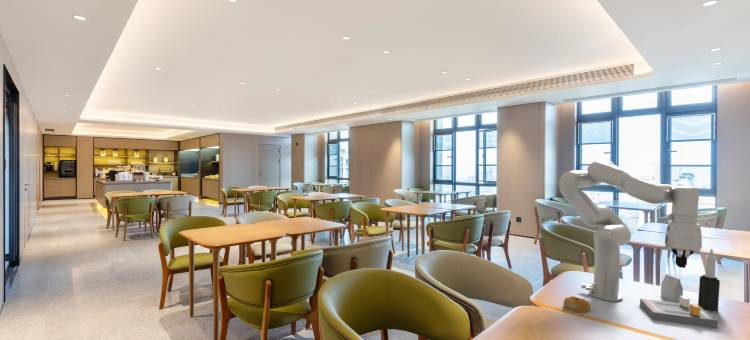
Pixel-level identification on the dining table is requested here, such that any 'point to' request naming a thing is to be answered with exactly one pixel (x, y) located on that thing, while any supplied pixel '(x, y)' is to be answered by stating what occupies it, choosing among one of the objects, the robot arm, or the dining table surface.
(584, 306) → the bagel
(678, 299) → the grey piece
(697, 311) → the breaker handle
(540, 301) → the dining table surface
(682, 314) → the breaker panel
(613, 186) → the robot arm
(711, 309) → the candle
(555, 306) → the dining table surface
